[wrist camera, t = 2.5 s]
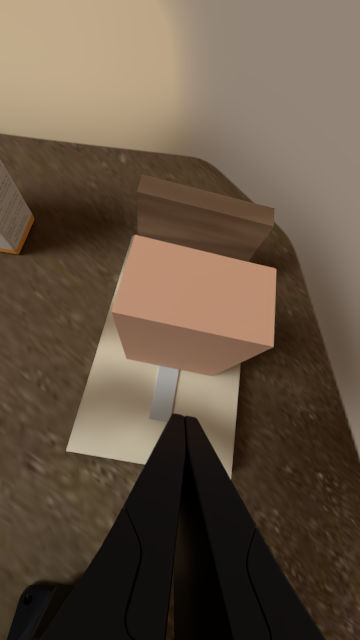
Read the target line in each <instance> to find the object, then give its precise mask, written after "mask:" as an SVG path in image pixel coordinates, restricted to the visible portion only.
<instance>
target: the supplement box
mask: <svg viewBox="0 0 360 640" xmlns="http://www.w3.org/2000/svg"><path fill="white" fill-rule="evenodd" d="M33 222H34V216H33V214H32V213H31V211H30V209H29V208H28V206H27V204H26V202H25V201H24V199H23V197H22V195H21V194H20V192H19V190H18V189H17V187H16V185H15V183H14V182H13V180H12V178H11V176H10V175H9V173H8V171H7V170H6V168H5V166H4V164H3V163H2V161H1V159H0V252H6V253H12V254H19V253H20V251H21V248H22V246H23V244H24V242H25V240H26V238H27V236H28V233H29V231H30V228H31V226H32V224H33Z"/></svg>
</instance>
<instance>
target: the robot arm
mask: <svg viewBox="0 0 360 640" xmlns="http://www.w3.org/2000/svg"><path fill="white" fill-rule="evenodd" d="M255 527H256V524H255V522H254V521H253V519H252V517H251V515H250V513H249V512H248V510H247V508H246V506H245V504H244V502H243V501H242V499H241V497H240V495H239V493H238V492H237V490H236V488H235V486H234V484H233V483H232V481H231V479H230V477H229V475H228V473H227V472H226V470H225V468H224V466H223V464H222V463H221V461H220V459H219V457H218V455H217V454H216V452H215V450H214V448H213V446H212V444H211V443H210V441H209V439H208V437H207V435H206V434H205V432H204V430H203V428H202V426H201V425H200V423H199V421H198V419H197V418H196V417H192V416H187V415H186V416H183V415H181V414H176V413H172V414H171V416H170V418H169V420H168V422H167V424H166V426H165V428H164V430H163V431H162V433H161V435H160V437H159V439H158V441H157V443H156V445H155V447H154V449H153V451H152V452H151V454H150V456H149V458H148V460H147V462H146V464H145V466H144V468H143V470H142V472H141V473H140V475H139V477H138V479H137V481H136V483H135V485H134V487H133V489H132V491H131V493H130V494H129V496H128V498H127V500H126V502H125V504H124V507H123V508H122V509H121V511H120V513H119V515H118V517H117V519H116V521H115V523H114V525H113V526H112V528H111V530H110V532H109V533H108V535H107V537H106V539H105V541H104V542H103V544H102V546H101V548H100V549H99V551H98V552H97V554H96V555H95V557H94V559H93V560H92V562H91V563H90V565H89V567H88V568H87V570H86V571H85V573H84V574H83V576H82V577H81V579H80V580H79V582H78V583H77V585H76V586H75V587H74V586H67V585H58V586H56V587H49V586H41V585H30V586H28V587H27V588H26V589H25V590H24V592H23V593H22V595H21V597H20V599H19V602H18V606H17V609H16V612H15V615H14V619H13V622H12V625H11V628H10V632H9V635H8V638H7V640H165V638H166V629H167V620H168V611H169V602H170V593H171V584H172V575H173V566H174V637H175V640H326V639H325V637H324V636H323V634H322V633H321V631H320V630H319V628H318V626H317V625H316V623H315V622H314V620H313V619H312V617H311V616H310V614H309V613H308V611H307V610H306V608H305V606H304V605H303V603H302V602H301V600H300V599H299V597H298V596H297V594H296V592H295V591H294V589H293V588H292V586H291V584H290V583H289V581H288V580H287V578H286V576H285V575H284V573H283V572H282V570H281V568H280V566H279V565H278V563H277V561H276V560H275V558H274V556H273V554H272V553H271V551H270V549H269V547H268V546H267V544H266V542H265V540H264V539H263V537H262V535H261V533H260V531H259V529H258V528H255ZM27 594H31V595H32V597H33V599H32V600H30V601H29V600H27V598H26V596H27Z"/></svg>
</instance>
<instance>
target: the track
mask: <svg viewBox="0 0 360 640" xmlns="http://www.w3.org/2000/svg"><path fill="white" fill-rule="evenodd" d="M137 219H138V236H142V237H147V238H151V239H155V240H159V241H163V242H167V243H172V244H176V245H180V246H184V247H188V248H192V249H196V250H201V251H205V252H209V253H213V254H217V255H221V256H226V257H230V258H234V259H238V260H242V261H246V262H248V261H249V260H250V259H251V257H252V256H253V254H254V253H255V252H256V250H257V249H258V247H259V246H260V245H261V243H262V242H263V240H264V239H265V238H266V236H267V235H268V233H269V232H270V231H271V229H272V228H273V227H274V208H270V207H266V206H262V205H258V204H255V203H251V202H247V201H243V200H239V199H236V198H232V197H228V196H224V195H220V194H216V193H212V192H209V191H205V190H201V189H197V188H193V187H189V186H185V185H182V184H178V183H174V182H170V181H166V180H162V179H158V178H155V177H151V176H147V175H143V174H142V177H141V180H140V183H139V186H138V189H137ZM133 239H134V236H132V239H131V242H130V245H129V248H128V252H127V255H126V258H125V261H124V265H123V268H122V271H121V274H120V278H119V281H118V284H117V287H116V291H115V294H114V297H113V300H112V303H111V307H110V310H109V313H108V316H107V320H106V323H105V326H104V329H103V333H102V336H101V339H100V342H99V346H98V349H97V352H96V355H95V359H94V362H93V365H92V368H91V372H90V375H89V378H88V381H87V385H86V388H85V391H84V394H83V398H82V401H81V404H80V407H79V410H78V414H77V417H76V420H75V423H74V427H73V430H72V433H71V436H70V440H69V443H68V446H67V449H66V451H69V452H75V453H81V454H87V455H93V456H99V457H104V458H110V459H116V460H122V461H128V462H133V463H139V464H146V462H147V460H148V458H149V456H150V454H151V452H152V451H153V449H154V447H155V445H156V443H157V441H158V439H159V437H160V435H161V433H162V431H163V430H164V428H165V426H166V424H167V422H168V420H169V418H170V416H171V414H172V413H176V414H181V415H183V416H186V415H187V416H192V417H196V418H197V419H198V421H199V423H200V425H201V426H202V428H203V430H204V432H205V434H206V435H207V437H208V439H209V441H210V443H211V444H212V446H213V448H214V450H215V452H216V454H217V455H218V457H219V459H220V461H221V463H222V464H223V466H224V468H225V470H226V472H227V473H228V475H229V477H230V479H231V474H232V462H233V450H234V438H235V426H236V414H237V402H238V390H239V378H240V366H241V363H239V364H237V365H235V366H233V367H230V368H228V369H226V370H224V371H222V372H220V373H218V374H216V375H214V376H208V375H203V374H198V373H193V372H188V371H183V370H178V369H173V368H168V367H163V366H158V365H154V364H149V363H144V362H139V361H134V360H129V359H126V356H125V353H124V350H123V347H122V344H121V340H120V337H119V334H118V331H117V328H116V325H115V322H114V318H113V315H112V308H113V305H114V302H115V298H116V295H117V292H118V289H119V285H120V282H121V279H122V275H123V272H124V269H125V266H126V262H127V259H128V256H129V252H130V249H131V246H132V243H133Z"/></svg>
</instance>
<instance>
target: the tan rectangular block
mask: <svg viewBox="0 0 360 640" xmlns="http://www.w3.org/2000/svg"><path fill="white" fill-rule="evenodd" d="M275 294H276V269H275V268H271V267H267V266H263V265H259V264H255V263H250V262H246V261H242V260H238V259H234V258H230V257H226V256H221V255H217V254H213V253H209V252H205V251H201V250H196V249H192V248H188V247H184V246H180V245H176V244H172V243H167V242H163V241H159V240H155V239H151V238H147V237H142V236H138V235H135V236H134V239H133V243H132V246H131V249H130V252H129V256H128V259H127V262H126V266H125V269H124V272H123V275H122V279H121V282H120V285H119V289H118V292H117V295H116V298H115V302H114V305H113V308H112V315H113V318H114V322H115V325H116V328H117V331H118V334H119V337H120V340H121V344H122V347H123V350H124V353H125V356H126V359H129V360H134V361H139V362H144V363H149V364H154V365H158V366H163V367H168V368H173V369H178V370H183V371H188V372H193V373H198V374H203V375H208V376H214V375H216V374H218V373H220V372H222V371H224V370H226V369H228V368H230V367H233V366H235V365H237V364H239V363H241V362H243V361H245V360H247V359H249V358H251V357H254V356H256V355H258V354H260V353H262V352H264V351H266V350H268V349H270V348H272V347H274V323H275Z"/></svg>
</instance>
